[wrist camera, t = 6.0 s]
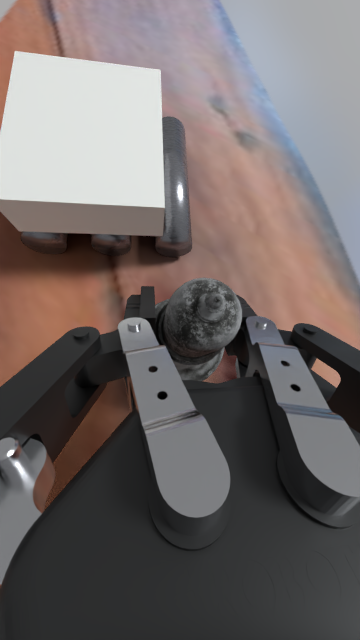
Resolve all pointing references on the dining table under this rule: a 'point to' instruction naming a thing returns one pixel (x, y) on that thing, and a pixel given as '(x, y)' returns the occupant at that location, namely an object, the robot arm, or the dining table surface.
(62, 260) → the dining table surface
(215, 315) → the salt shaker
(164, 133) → the roller track
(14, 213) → the slab
